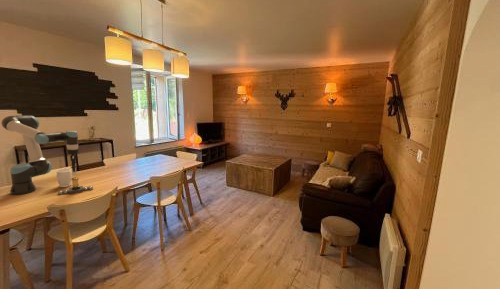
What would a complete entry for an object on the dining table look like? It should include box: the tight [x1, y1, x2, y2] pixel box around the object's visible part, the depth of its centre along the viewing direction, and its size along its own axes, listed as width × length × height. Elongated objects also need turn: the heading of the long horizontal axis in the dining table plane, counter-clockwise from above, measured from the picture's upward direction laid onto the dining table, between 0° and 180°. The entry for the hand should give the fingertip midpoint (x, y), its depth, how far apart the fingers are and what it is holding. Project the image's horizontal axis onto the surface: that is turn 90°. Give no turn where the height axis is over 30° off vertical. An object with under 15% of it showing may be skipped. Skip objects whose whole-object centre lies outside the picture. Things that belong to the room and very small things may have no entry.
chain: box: [57, 185, 94, 195], centre depth 189 cm, size 10×24×3 cm, turn 129°
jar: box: [56, 168, 73, 188], centre depth 198 cm, size 11×10×15 cm
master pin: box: [71, 176, 80, 190], centre depth 188 cm, size 5×5×12 cm
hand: (74, 172), depth 186 cm, fingers open, 13 cm apart
